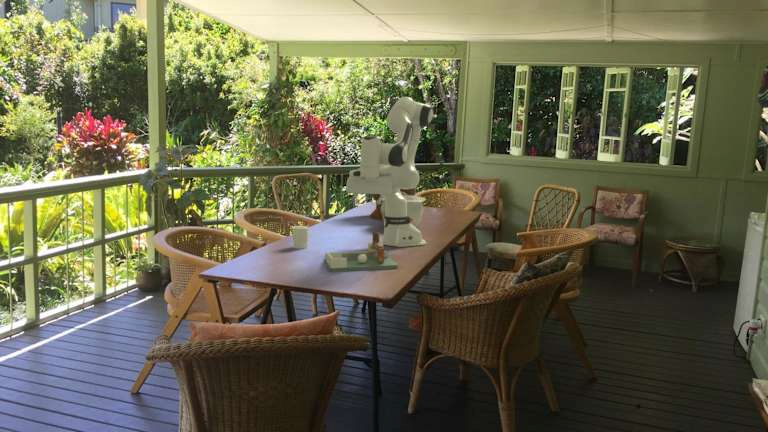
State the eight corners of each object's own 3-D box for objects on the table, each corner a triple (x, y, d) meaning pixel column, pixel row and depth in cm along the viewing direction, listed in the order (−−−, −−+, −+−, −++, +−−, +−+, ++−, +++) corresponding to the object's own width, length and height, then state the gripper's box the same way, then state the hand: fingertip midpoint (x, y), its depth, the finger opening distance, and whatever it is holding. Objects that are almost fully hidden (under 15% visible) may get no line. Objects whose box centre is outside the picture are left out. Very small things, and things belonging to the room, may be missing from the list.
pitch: (387, 259, 283) (387, 247, 282) (397, 268, 266) (397, 255, 265) (323, 262, 275) (323, 250, 274) (330, 271, 259) (330, 258, 258)
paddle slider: (381, 255, 281) (381, 232, 279) (388, 262, 269) (389, 237, 267) (368, 256, 279) (368, 232, 278) (375, 262, 267) (375, 238, 265)
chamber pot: (426, 231, 349) (427, 195, 346) (377, 231, 350) (377, 194, 346) (424, 223, 377) (425, 189, 374) (378, 222, 377) (379, 188, 374)
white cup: (297, 249, 300) (297, 229, 298) (289, 247, 306) (289, 226, 304) (311, 247, 305) (311, 227, 303) (303, 245, 311) (303, 225, 309)
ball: (365, 261, 271) (365, 252, 270) (367, 264, 267) (368, 254, 266) (356, 262, 270) (356, 253, 269) (358, 264, 266) (358, 255, 265)
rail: (387, 257, 281) (387, 250, 280) (388, 257, 279) (388, 251, 279) (325, 259, 274) (325, 253, 273) (325, 260, 272) (325, 253, 272)
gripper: (392, 172, 279) (390, 203, 281) (346, 171, 276) (345, 202, 278) (394, 174, 273) (392, 205, 275) (347, 172, 270) (346, 204, 272)
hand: (368, 203), depth 276 cm, fingers open, 8 cm apart
